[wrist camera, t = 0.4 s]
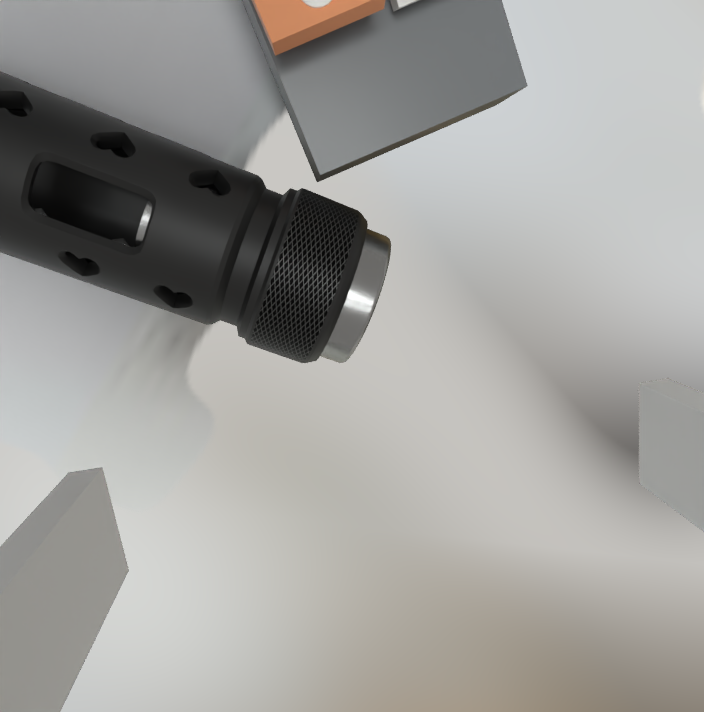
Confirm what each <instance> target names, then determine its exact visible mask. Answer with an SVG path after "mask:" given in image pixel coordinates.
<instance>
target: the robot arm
mask: <svg viewBox="0 0 704 712" xmlns="http://www.w3.org/2000/svg"><path fill="white" fill-rule="evenodd" d="M639 484H640V485H642V486H643V487H644V488H646V489H647V490H648V491H650V492H651V493H652V494H654V495H655V496H657V497H658V498H659V499H661V500H662V501H663V502H664V503H666V504H667V505H668V506H670V507H671V508H672V509H674V510H675V511H677V512H678V513H679V514H681V515H682V516H683V517H685V518H686V519H688V520H689V521H690V522H691V523H693V524H694V525H695V526H697V527H698V528H699V529H701V530H702V531H703V532H704V393H703V392H700V391H698V390H695V389H693V388H690V387H688V386H685V385H683V384H680V383H678V382H675V381H673V380H671V379H662V380H655V381H649V382H642V383H639ZM128 571H129V570H128V566H127V562H126V558H125V554H124V550H123V546H122V542H121V539H120V534H119V531H118V527H117V524H116V519H115V515H114V511H113V507H112V503H111V499H110V496H109V492H108V488H107V484H106V480H105V476H104V472H103V468H95V469H89V470H83V471H76V472H70V473H68V474H67V475H66V476H65V477H64V478H63V479H62V480H61V482H60V483H59V484H58V485H57V486H56V487H55V488H54V489H53V490H52V491H51V492H50V494H49V495H48V496H47V497H46V498H45V499H44V500H43V501H42V502H41V503H40V504H39V505H38V506H37V508H36V509H35V510H34V511H33V512H32V513H31V514H30V515H29V516H28V517H27V518H26V519H25V521H24V522H23V523H22V524H21V525H20V526H19V527H18V528H17V529H16V530H15V531H14V533H13V534H12V535H11V536H10V537H9V538H8V539H7V540H6V541H5V542H4V543H3V544H2V545H1V547H0V712H60V711H61V709H62V707H63V705H64V703H65V701H66V699H67V697H68V695H69V692H70V690H71V688H72V686H73V684H74V682H75V680H76V678H77V676H78V674H79V672H80V670H81V668H82V666H83V664H84V662H85V659H86V657H87V655H88V653H89V651H90V649H91V647H92V645H93V643H94V641H95V639H96V637H97V635H98V633H99V631H100V629H101V626H102V624H103V622H104V620H105V618H106V616H107V614H108V612H109V610H110V608H111V606H112V604H113V602H114V600H115V598H116V596H117V594H118V591H119V589H120V587H121V585H122V583H123V581H124V579H125V577H126V575H127V573H128Z"/></svg>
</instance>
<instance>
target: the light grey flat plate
mask: <svg viewBox="0 0 704 712" xmlns="http://www.w3.org/2000/svg"><path fill="white" fill-rule="evenodd" d="M417 1H419V0H390V2H391V5H392V8H393V12H394V11H396V10H398V9H401V8H403V7H405V6H408V5H410V4H412V3H415V2H417Z"/></svg>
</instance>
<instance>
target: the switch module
mask: <svg viewBox="0 0 704 712" xmlns="http://www.w3.org/2000/svg"><path fill="white" fill-rule="evenodd" d="M242 1H243V4H244V6H245V9H246V11H247V14H248V16H249V18H250V21H251V23H252V26H253V28H254V31H255V33H256V35H257V38H258V40H259V43H260V45H261V47H262V50H263V52H264V55H265V57H266V60H267V62H268V64H269V67H270V69H271V72H272V74H273V77H274V79H275V81H276V84H277V86H278V89H279V91H280V94H281V96H282V98H283V101H284V103H285V106H286V108H287V110H288V113H289V115H290V118H291V120H292V123H293V125H294V127H295V130H296V132H297V135H298V137H299V139H300V142H301V144H302V147H303V149H304V152H305V154H306V157H307V159H308V161H309V164H310V166H311V169H312V171H313V173H314V176H315V178H316V181H317V182H319V181H321V180H324V179H326V178H328V177H330V176H333V175H335V174H337V173H340V172H342V171H344V170H347V169H349V168H351V167H353V166H356V165H358V164H361V163H363V162H365V161H368V160H370V159H372V158H375V157H377V156H379V155H381V154H384V153H386V152H388V151H391V150H393V149H395V148H398V147H400V146H402V145H405V144H407V143H409V142H411V141H414V140H416V139H418V138H421V137H423V136H425V135H428V134H430V133H433V132H435V131H437V130H439V129H442V128H444V127H446V126H449V125H451V124H453V123H456V122H458V121H460V120H462V119H465V118H467V117H470V116H472V115H474V114H477V113H479V112H481V111H483V110H486V109H488V108H490V107H493V106H495V105H497V104H499V103H500V102H502V101H504V100H505V99H507V98H509V97H510V96H512V95H513V94H515V93H517V92H518V91H520V90H521V89H523V88H525V87H526V86H527V83H526V79H525V76H524V73H523V70H522V66H521V63H520V60H519V56H518V53H517V50H516V47H515V43H514V40H513V36H512V33H511V30H510V27H509V23H508V20H507V17H506V13H505V10H504V7H503V3H502V0H419V1H417V2H415V3H412V4H410V5H408V6H405V7H403V8H401V9H398V10H396V11H394V12H393V8H392V5H391V2H390V0H385V6H384V9H383V10H380V11H378V12H376V13H373V14H371V15H369V16H366V17H364V18H362V19H359V20H357V21H355V22H352V23H350V24H348V25H346V26H343V27H341V28H339V29H336V30H334V31H332V32H329V33H327V34H325V35H322V36H320V37H318V38H315V39H313V40H311V41H308V42H306V43H304V44H301V45H299V46H297V47H294V48H292V49H290V50H287V51H285V52H283V53H280V54H278V55H276V56H275V54H274V52H273V49H272V47H271V45H270V42H269V40H268V37H267V35H266V33H265V30H264V28H263V26H262V23H261V21H260V19H259V16H258V14H257V12H256V9H255V7H254V5H253V2H252V0H242Z"/></svg>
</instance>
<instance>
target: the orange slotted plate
mask: <svg viewBox="0 0 704 712" xmlns="http://www.w3.org/2000/svg"><path fill="white" fill-rule="evenodd" d="M252 2H253V5H254V7H255V9H256V12H257V14H258V16H259V19H260V21H261V23H262V26H263V28H264V30H265V33H266V35H267V37H268V40H269V42H270V45H271V47H272V49H273V52H274V54H275V56H276V55H278V54H280V53H283V52H285V51H287V50H290V49H292V48H294V47H297V46H299V45H301V44H304V43H306V42H308V41H311V40H313V39H315V38H318V37H320V36H322V35H325V34H327V33H329V32H332V31H334V30H336V29H339V28H341V27H343V26H346V25H348V24H350V23H352V22H355V21H357V20H359V19H362V18H364V17H366V16H369V15H371V14H373V13H376V12H378V11H380V10H383V9H384V6H385V0H252Z"/></svg>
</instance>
